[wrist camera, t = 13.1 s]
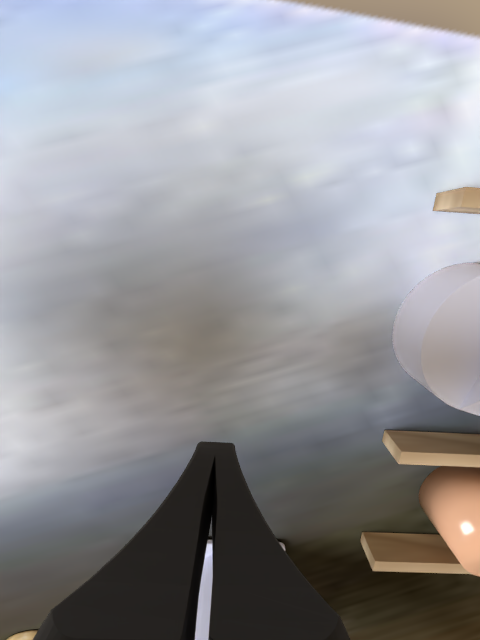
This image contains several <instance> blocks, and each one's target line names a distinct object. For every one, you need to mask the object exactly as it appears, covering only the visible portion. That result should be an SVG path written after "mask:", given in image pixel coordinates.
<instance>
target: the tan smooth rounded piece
mask: <svg viewBox="0 0 480 640" xmlns="http://www.w3.org/2000/svg"><path fill="white" fill-rule="evenodd" d="M419 502H420V505H421V507H422V509H423V510H424V512H425V513H426V515H427V516H428V518H429V519H430V520H431V522H432V523H433V525H434V526H435V528H436V529H437V531H438V532H439V533H440V535H441V536H442V538H443V539H444V541H445V542H446V543H447V545H448V546H449V548H450V549H451V551H452V552H453V554H454V555H455V556H456V558H457V559H458V561H459V562H460V564H461V565H462V566H463V568H464V569H466V570H467V571H468V572H470V573H471V574H474V575H476V576H479V577H480V467H461V466H441V467H439V468H437V469H436V470H434V471H433V472H432V473H430V474H429V475H428V476H427V478H426V479H425V480H424V482H423V483H422V485H421V488H420V491H419Z"/></svg>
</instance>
